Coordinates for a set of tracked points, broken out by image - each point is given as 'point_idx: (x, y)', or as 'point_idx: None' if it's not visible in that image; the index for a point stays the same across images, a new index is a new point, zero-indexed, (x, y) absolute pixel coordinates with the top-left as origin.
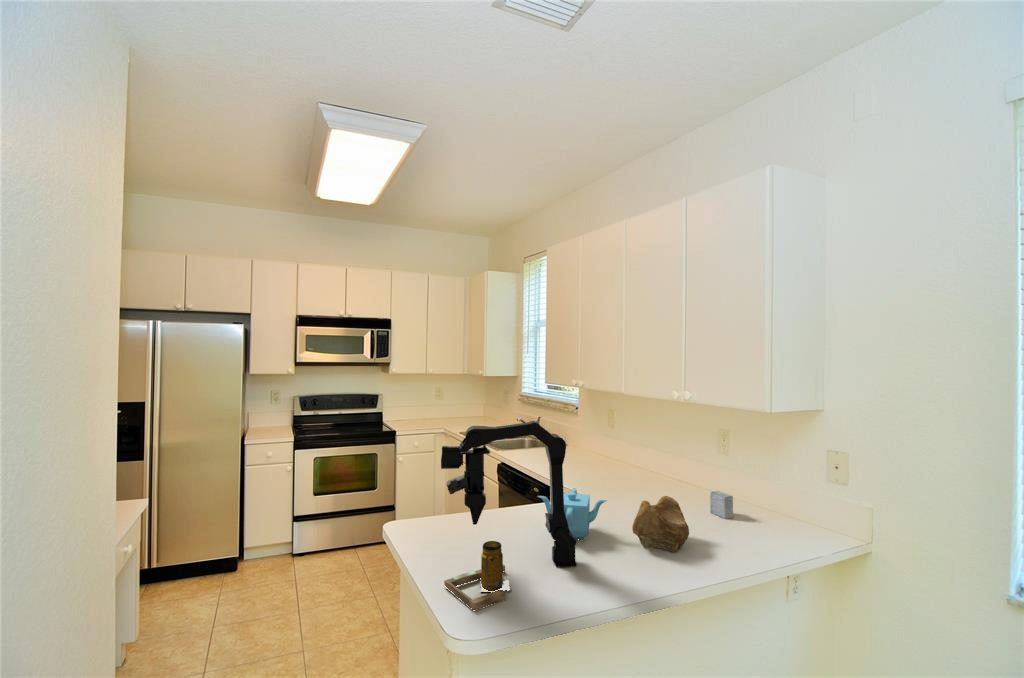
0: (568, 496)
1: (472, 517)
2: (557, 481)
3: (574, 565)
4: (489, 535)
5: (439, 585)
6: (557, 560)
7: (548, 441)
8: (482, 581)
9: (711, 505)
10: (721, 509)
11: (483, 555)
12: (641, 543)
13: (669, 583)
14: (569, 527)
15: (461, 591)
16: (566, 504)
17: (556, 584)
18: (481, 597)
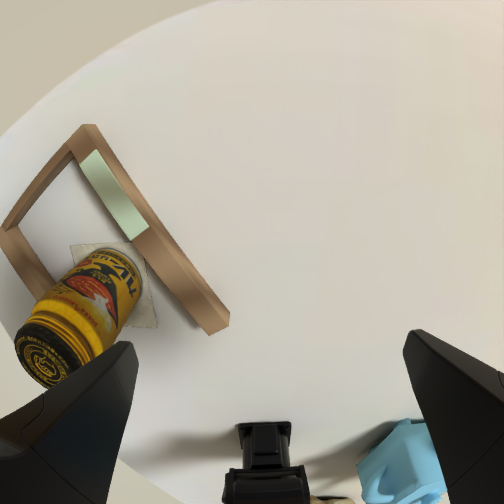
0: (431, 498)
1: (71, 382)
2: None
3: (241, 446)
4: (485, 274)
5: (111, 103)
6: (251, 435)
7: None
8: (83, 260)
9: None
10: None
11: (36, 308)
12: (310, 499)
13: (185, 493)
14: (382, 462)
15: (27, 197)
16: (403, 499)
17: (152, 409)
18: (15, 255)
